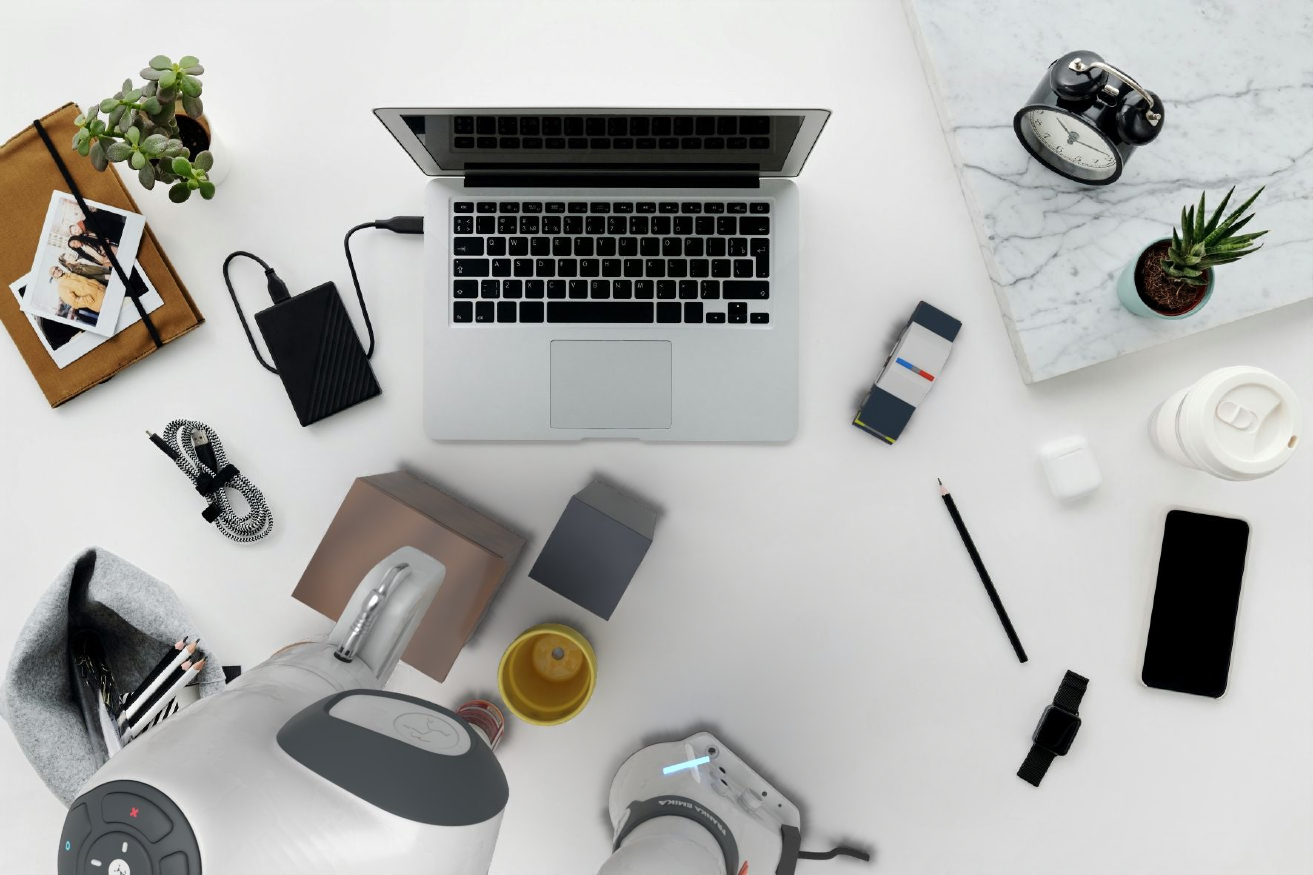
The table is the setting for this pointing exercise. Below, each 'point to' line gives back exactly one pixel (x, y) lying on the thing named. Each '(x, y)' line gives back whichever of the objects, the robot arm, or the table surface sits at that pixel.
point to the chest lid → (375, 532)
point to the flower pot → (547, 675)
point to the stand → (596, 548)
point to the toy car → (908, 373)
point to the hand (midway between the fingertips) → (387, 655)
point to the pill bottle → (484, 720)
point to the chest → (453, 519)
